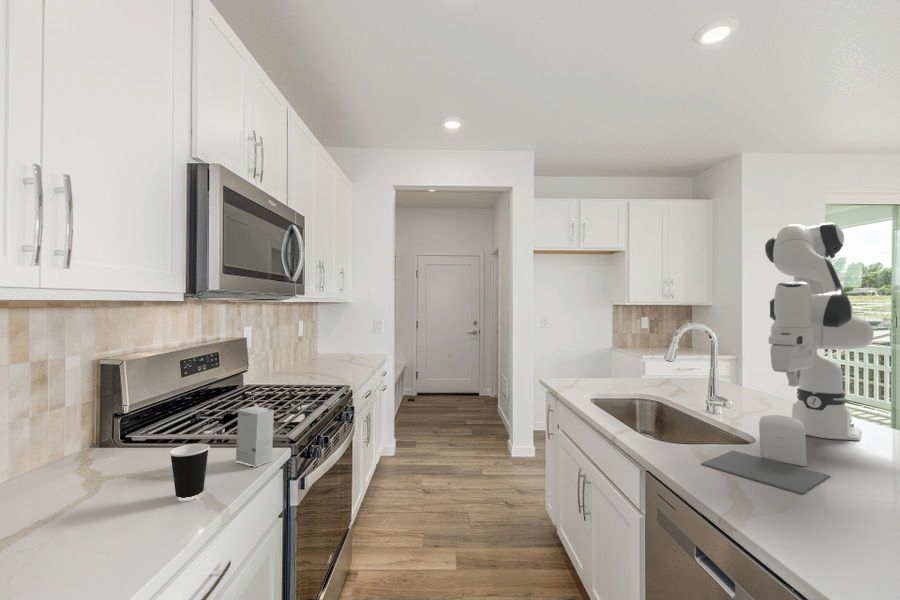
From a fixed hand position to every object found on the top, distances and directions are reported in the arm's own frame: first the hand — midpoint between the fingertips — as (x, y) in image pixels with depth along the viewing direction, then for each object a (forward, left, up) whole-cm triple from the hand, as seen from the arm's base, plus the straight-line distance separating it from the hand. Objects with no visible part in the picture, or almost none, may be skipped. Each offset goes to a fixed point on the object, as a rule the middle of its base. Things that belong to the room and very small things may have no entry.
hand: (794, 385), depth 122 cm
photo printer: (+9, 0, -20) cm, 22 cm away
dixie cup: (+146, -66, -20) cm, 161 cm away
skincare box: (+130, -81, -20) cm, 154 cm away
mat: (+21, 0, -20) cm, 29 cm away
